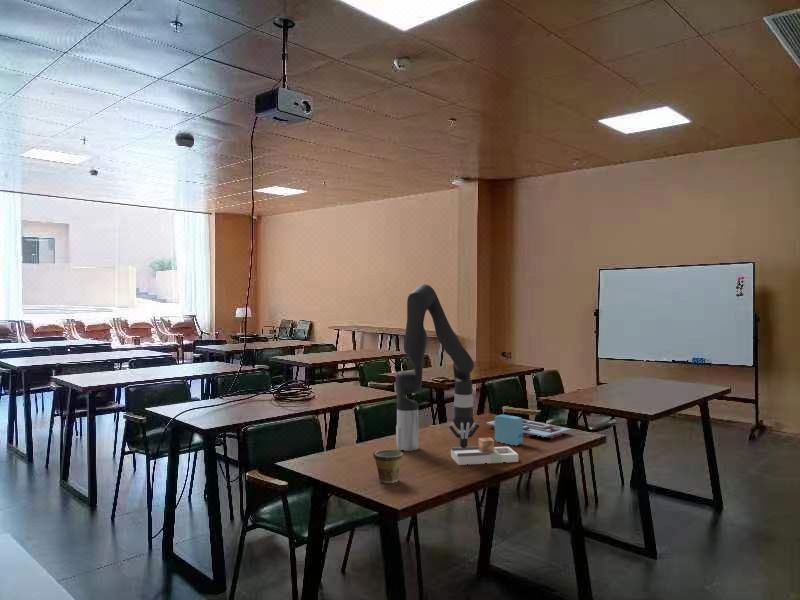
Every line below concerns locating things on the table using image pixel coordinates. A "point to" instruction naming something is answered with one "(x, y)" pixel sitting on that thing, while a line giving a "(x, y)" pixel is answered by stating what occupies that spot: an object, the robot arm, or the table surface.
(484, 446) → the terracotta cube
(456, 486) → the table surface
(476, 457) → the tray
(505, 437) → the blue square slab
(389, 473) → the ceramic cup
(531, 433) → the maze game
